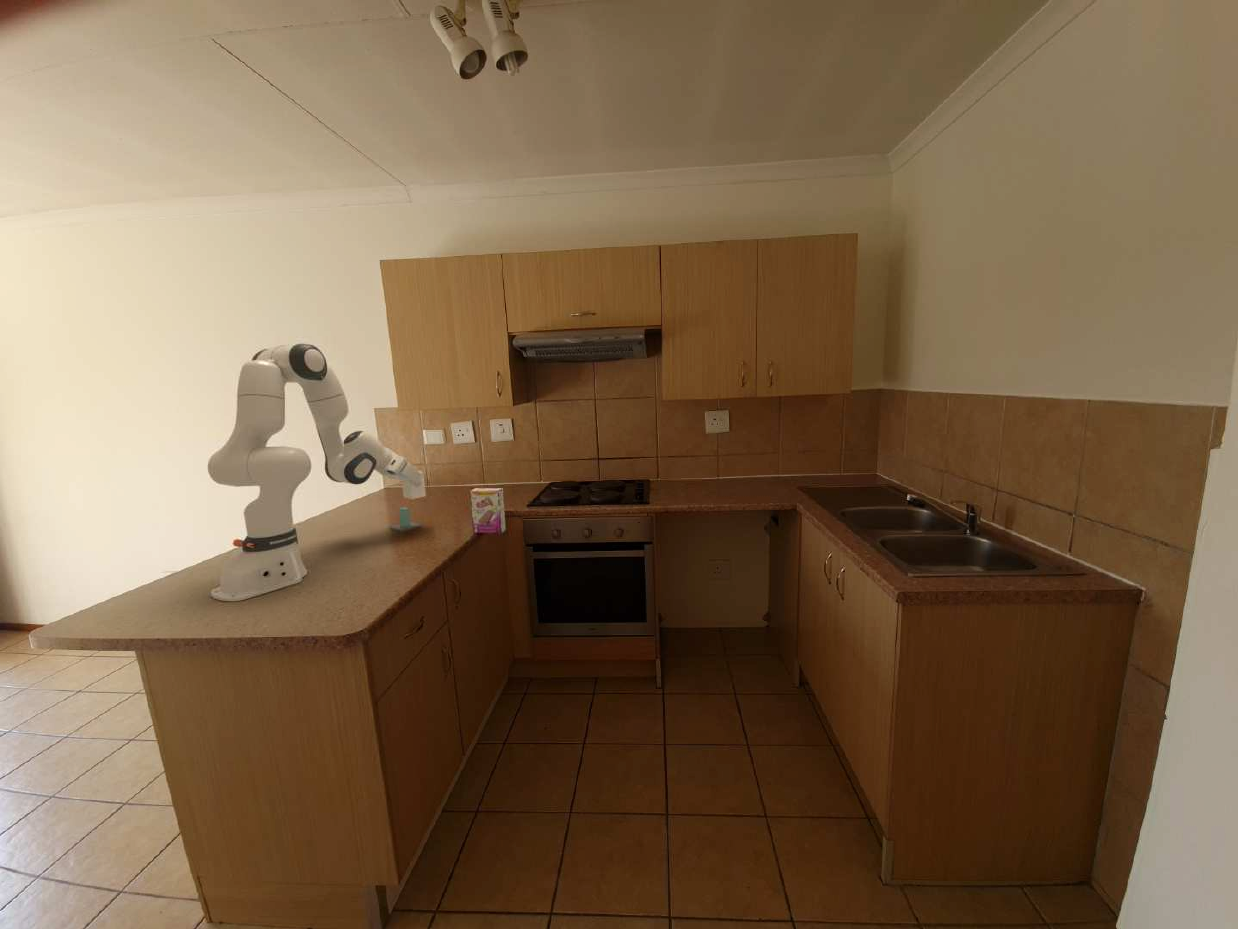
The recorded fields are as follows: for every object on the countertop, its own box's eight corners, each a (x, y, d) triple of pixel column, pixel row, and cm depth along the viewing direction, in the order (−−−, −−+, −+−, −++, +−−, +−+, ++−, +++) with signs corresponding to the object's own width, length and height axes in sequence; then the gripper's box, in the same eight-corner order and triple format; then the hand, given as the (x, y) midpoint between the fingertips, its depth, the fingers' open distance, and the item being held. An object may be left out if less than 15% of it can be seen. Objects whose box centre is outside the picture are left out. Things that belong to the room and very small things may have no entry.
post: (402, 531, 185) (399, 512, 184) (390, 528, 189) (388, 509, 188) (420, 526, 191) (418, 507, 190) (409, 523, 196) (407, 504, 195)
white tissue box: (412, 499, 183) (409, 474, 181) (403, 497, 186) (400, 473, 184) (425, 496, 187) (423, 471, 186) (417, 494, 191) (414, 470, 189)
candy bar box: (472, 534, 179) (469, 491, 177) (477, 530, 184) (474, 488, 182) (502, 534, 178) (498, 490, 176) (506, 530, 183) (503, 487, 180)
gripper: (367, 467, 182) (395, 488, 191) (396, 472, 170) (425, 493, 179) (377, 454, 184) (404, 475, 194) (407, 457, 172) (434, 479, 182)
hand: (414, 484), depth 186 cm, fingers closed on white tissue box, 6 cm apart
